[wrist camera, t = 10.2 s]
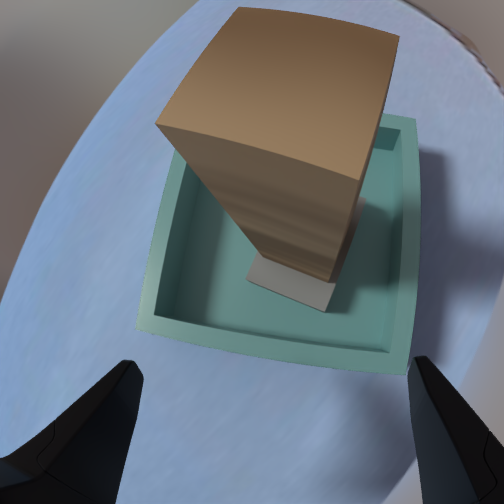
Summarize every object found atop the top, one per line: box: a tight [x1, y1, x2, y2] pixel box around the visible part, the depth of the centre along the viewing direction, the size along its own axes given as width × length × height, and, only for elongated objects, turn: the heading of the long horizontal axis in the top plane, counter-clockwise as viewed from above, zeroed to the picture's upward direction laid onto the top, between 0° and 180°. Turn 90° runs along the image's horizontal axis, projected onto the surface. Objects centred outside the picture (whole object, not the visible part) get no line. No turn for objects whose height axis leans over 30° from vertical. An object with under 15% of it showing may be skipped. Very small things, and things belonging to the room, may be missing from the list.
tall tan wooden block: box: [155, 7, 400, 313], centre depth 11 cm, size 6×4×14 cm
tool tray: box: [135, 114, 421, 375], centre depth 18 cm, size 14×14×4 cm
